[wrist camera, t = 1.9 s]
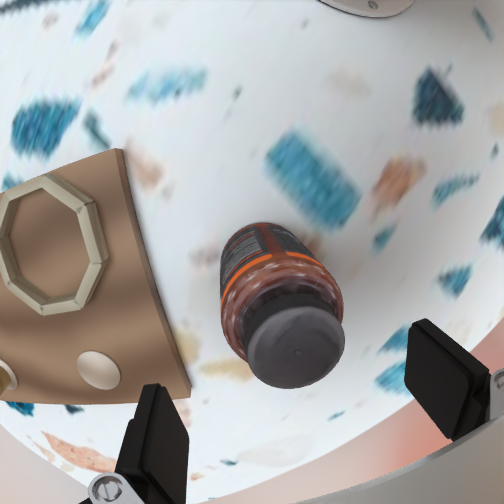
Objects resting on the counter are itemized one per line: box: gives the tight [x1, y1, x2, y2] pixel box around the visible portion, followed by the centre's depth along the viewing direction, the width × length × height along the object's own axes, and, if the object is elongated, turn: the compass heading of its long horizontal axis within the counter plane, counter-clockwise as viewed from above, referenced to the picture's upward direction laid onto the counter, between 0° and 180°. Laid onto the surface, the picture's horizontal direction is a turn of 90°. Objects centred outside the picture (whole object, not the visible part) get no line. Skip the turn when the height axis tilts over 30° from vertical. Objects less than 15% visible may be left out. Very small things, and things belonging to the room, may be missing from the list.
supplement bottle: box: [220, 223, 345, 389], centre depth 17 cm, size 6×6×11 cm
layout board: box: [0, 148, 191, 405], centre depth 19 cm, size 20×26×6 cm
